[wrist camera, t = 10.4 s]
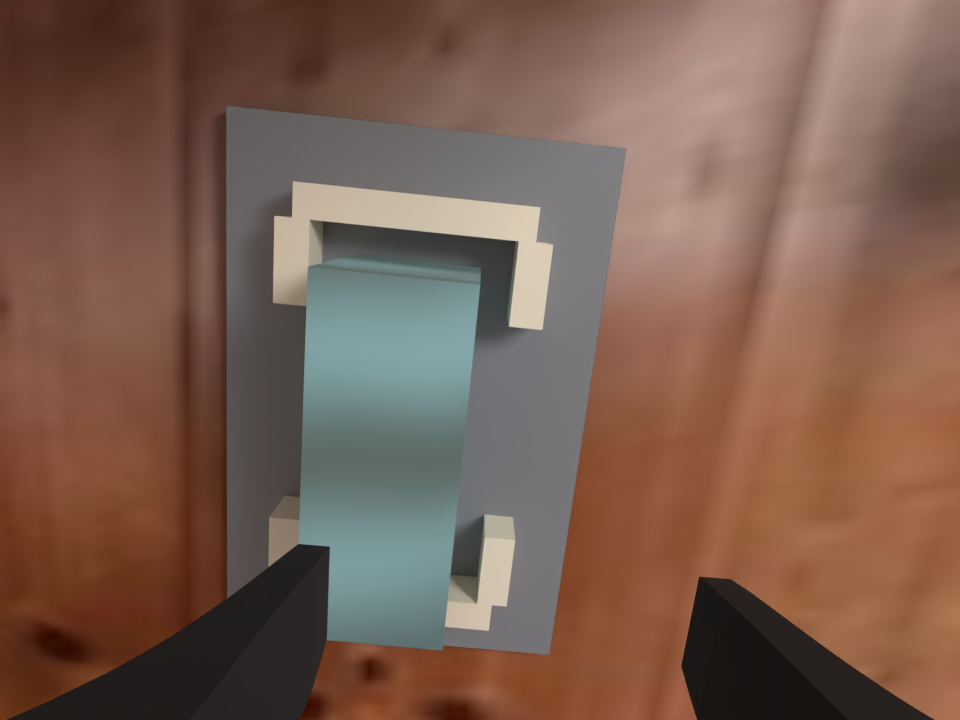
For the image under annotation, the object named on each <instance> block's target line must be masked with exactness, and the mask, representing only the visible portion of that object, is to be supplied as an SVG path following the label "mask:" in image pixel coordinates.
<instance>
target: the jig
mask: <svg viewBox="0 0 960 720" xmlns="http://www.w3.org/2000/svg"><path fill="white" fill-rule="evenodd" d="M625 154H626V149H625V148H616V147H607V146H597V145H588V144H579V143H569V142H560V141H551V140H542V139H532V138H523V137H514V136H504V135H495V134H486V133H477V132H467V131H458V130H449V129H439V128H430V127H421V126H412V125H402V124H393V123H384V122H374V121H365V120H356V119H347V118H337V117H328V116H319V115H309V114H300V113H291V112H282V111H272V110H263V109H254V108H244V107H235V106H226V269H227V598H229V597H230V596H231V595H233V594H234V593H235V592H237V591H238V590H239V589H241V588H242V587H243V586H245V585H246V584H247V583H249V582H250V581H251V580H253V579H254V578H255V577H256V576H258V575H259V574H260V573H262V572H263V571H264V570H265V569H267V568H268V567H269V566H270V565H272V564H273V563H274V562H276V561H277V560H278V559H279V558H281V557H282V556H283V555H285V554H286V553H287V552H288V551H290V550H291V549H292V548H294V547H295V546H296V545H298V544H299V516H300V486H301V456H302V425H303V395H304V365H305V334H306V304H307V274H308V267H309V266H313V265H316V264H320V263H324V262H327V261H331V260H334V259H338V258H342V257H345V256H349V255H353V254H358V255H368V256H377V257H387V258H396V259H406V260H416V261H425V262H435V263H444V264H454V265H463V266H473V267H481V280H480V294H479V303H478V313H477V322H476V332H475V342H474V351H473V361H472V371H471V380H470V390H469V400H468V409H467V419H466V429H465V438H464V448H463V457H462V467H461V477H460V486H459V496H458V506H457V515H456V525H455V535H454V544H453V554H452V564H451V573H450V583H449V592H448V602H447V612H446V621H445V631H444V641H443V645H445V646H456V647H467V648H478V649H490V650H501V651H512V652H523V653H534V654H546V655H549V652H550V646H551V639H552V633H553V626H554V620H555V613H556V607H557V600H558V593H559V587H560V580H561V574H562V567H563V561H564V554H565V548H566V541H567V534H568V528H569V521H570V515H571V508H572V502H573V495H574V489H575V482H576V475H577V469H578V462H579V456H580V449H581V443H582V436H583V430H584V423H585V417H586V410H587V403H588V397H589V390H590V384H591V377H592V371H593V364H594V358H595V351H596V344H597V338H598V331H599V325H600V318H601V312H602V305H603V299H604V292H605V285H606V279H607V272H608V266H609V259H610V253H611V246H612V240H613V233H614V226H615V220H616V213H617V207H618V200H619V194H620V187H621V181H622V174H623V168H624V161H625Z"/></svg>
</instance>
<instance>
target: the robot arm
mask: <svg viewBox="0 0 960 720" xmlns="http://www.w3.org/2000/svg"><path fill="white" fill-rule="evenodd" d="M329 560H330V547H329V546H317V545H305V544H298V545H296V546H295V547H294V548H292V549H291V550H290V551H288V552H287V553H286V554H285V555H283V556H282V557H281V558H279V559H278V560H277V561H276V562H274V563H273V564H272V565H270V566H269V567H268V568H267V569H265V570H264V571H263V572H262V573H260V574H259V575H258V576H256V577H255V578H254V579H253V580H251V581H250V582H249V583H247V584H246V585H245V586H243V587H242V588H241V589H239V590H238V591H237V592H235V593H234V594H233V595H231V596H230V597H229V598H227V599H226V600H225V601H223V602H222V603H220V604H219V605H217V606H216V607H214V608H213V609H211V610H210V611H209V612H207V613H206V614H204V615H203V616H201V617H200V618H198V619H197V620H195V621H194V622H192V623H191V624H189V625H188V626H186V627H185V628H184V629H182V630H181V631H179V632H178V633H176V634H174V635H173V636H171V637H170V638H168V639H166V640H165V641H163V642H161V643H160V644H158V645H156V646H155V647H153V648H151V649H150V650H148V651H146V652H144V653H143V654H141V655H139V656H137V657H135V658H134V659H132V660H130V661H128V662H127V663H125V664H123V665H121V666H119V667H118V668H116V669H114V670H112V671H110V672H108V673H106V674H104V675H102V676H100V677H98V678H96V679H94V680H92V681H90V682H88V683H86V684H84V685H81V686H79V687H77V688H75V689H73V690H71V691H69V692H67V693H65V694H63V695H61V696H59V697H57V698H55V699H53V700H51V701H49V702H47V703H44V704H42V705H40V706H38V707H35V708H33V709H31V710H28V711H26V712H24V713H21V714H19V715H17V716H14V717H12V718H10V719H7V720H300V718H301V716H302V713H303V711H304V708H305V706H306V704H307V701H308V699H309V696H310V694H311V691H312V688H313V685H314V682H315V678H316V675H317V672H318V668H319V665H320V661H321V658H322V654H323V650H324V647H325V643H326V640H327V622H328V591H329ZM682 670H683V673H684V677H685V681H686V684H687V688H688V691H689V695H690V698H691V701H692V704H693V708H694V711H695V714H696V717H697V720H934V719H932V718H930V717H929V716H927V715H925V714H924V713H922V712H920V711H919V710H917V709H915V708H914V707H912V706H911V705H909V704H907V703H906V702H904V701H903V700H901V699H900V698H898V697H896V696H895V695H893V694H892V693H890V692H889V691H887V690H886V689H884V688H883V687H881V686H880V685H878V684H877V683H875V682H874V681H872V680H871V679H869V678H868V677H866V676H865V675H863V674H862V673H860V672H859V671H858V670H856V669H855V668H853V667H852V666H850V665H849V664H847V663H846V662H845V661H843V660H842V659H840V658H839V657H837V656H836V655H835V654H833V653H832V652H830V651H829V650H828V649H826V648H825V647H824V646H822V645H821V644H819V643H818V642H817V641H815V640H814V639H813V638H811V637H810V636H809V635H807V634H806V633H804V632H803V631H802V630H800V629H799V628H798V627H796V626H795V625H794V624H792V623H791V622H790V621H788V620H787V619H786V618H784V617H783V616H782V615H780V614H779V613H778V612H776V611H775V610H774V609H772V608H771V607H770V606H768V605H767V604H766V603H764V602H763V601H761V600H760V599H759V598H757V597H756V596H755V595H753V594H752V593H750V592H749V591H748V590H746V589H745V588H743V587H742V586H740V585H739V584H737V583H735V582H734V581H732V580H731V579H720V578H708V577H699V581H698V586H697V591H696V596H695V601H694V606H693V611H692V616H691V621H690V626H689V631H688V636H687V641H686V646H685V651H684V656H683V661H682Z"/></svg>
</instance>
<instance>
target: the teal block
mask: <svg viewBox="0 0 960 720" xmlns="http://www.w3.org/2000/svg"><path fill="white" fill-rule="evenodd" d="M480 280H481V267H473V266H463V265H454V264H444V263H435V262H425V261H416V260H406V259H396V258H387V257H377V256H368V255H358V254H353V255H349V256H345V257H342V258H338V259H334V260H331V261H327V262H324V263H320V264H316V265H313V266H309V267H308V274H307V304H306V334H305V365H304V395H303V425H302V456H301V486H300V516H299V544H305V545H317V546H329V547H330V560H329V591H328V622H327V640H331V641H342V642H353V643H364V644H375V645H386V646H397V647H408V648H419V649H430V650H441V651H442V650H443V641H444V631H445V621H446V612H447V602H448V592H449V583H450V573H451V564H452V554H453V544H454V535H455V525H456V515H457V506H458V496H459V486H460V477H461V467H462V457H463V448H464V438H465V429H466V419H467V409H468V400H469V390H470V380H471V371H472V361H473V351H474V342H475V332H476V322H477V313H478V303H479V294H480Z"/></svg>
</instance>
